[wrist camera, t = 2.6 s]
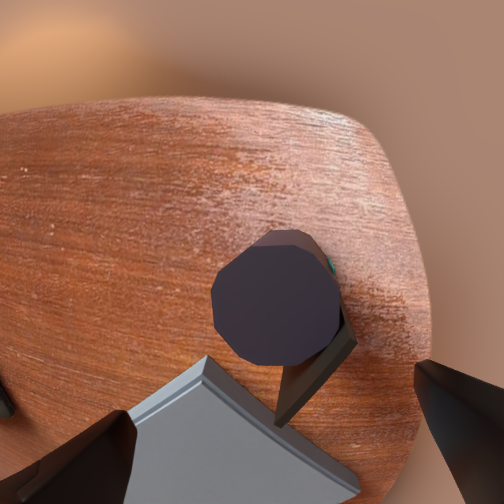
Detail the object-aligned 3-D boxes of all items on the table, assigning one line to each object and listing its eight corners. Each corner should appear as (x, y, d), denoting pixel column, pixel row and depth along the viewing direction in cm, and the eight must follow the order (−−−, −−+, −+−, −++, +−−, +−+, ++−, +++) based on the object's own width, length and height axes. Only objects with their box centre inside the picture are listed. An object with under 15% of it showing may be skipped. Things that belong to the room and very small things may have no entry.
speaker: (357, 294, 22) (398, 372, 11) (291, 339, 23) (283, 435, 13) (294, 205, 21) (291, 218, 11) (226, 256, 22) (170, 308, 12)
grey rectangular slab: (207, 354, 23) (200, 376, 20) (357, 474, 27) (362, 494, 24) (49, 461, 29) (40, 475, 26) (170, 538, 32) (166, 552, 30)
